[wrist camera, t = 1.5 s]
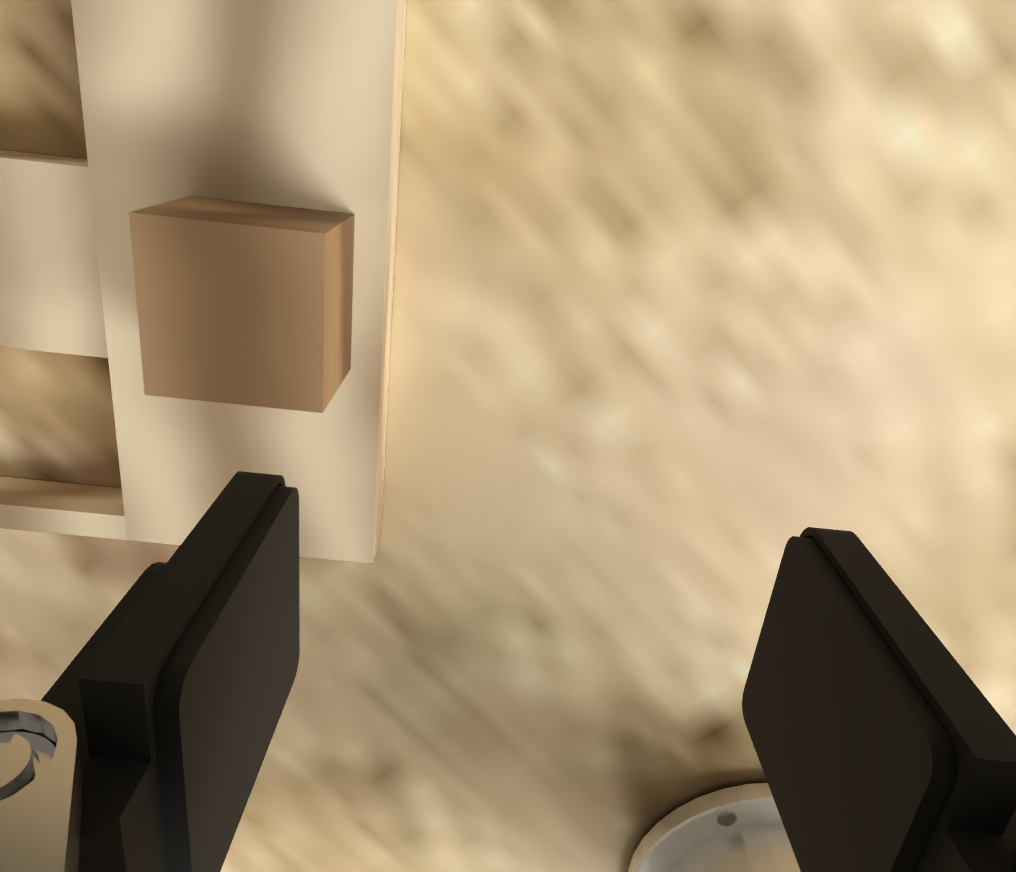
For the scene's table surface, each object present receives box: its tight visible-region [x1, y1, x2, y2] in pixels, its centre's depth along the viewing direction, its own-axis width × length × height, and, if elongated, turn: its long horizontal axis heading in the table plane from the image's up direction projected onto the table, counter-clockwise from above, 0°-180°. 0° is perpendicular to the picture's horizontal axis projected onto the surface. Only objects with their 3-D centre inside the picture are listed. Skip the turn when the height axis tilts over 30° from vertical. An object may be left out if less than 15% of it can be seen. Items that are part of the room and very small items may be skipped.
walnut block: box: [129, 196, 355, 413], centre depth 22 cm, size 5×5×4 cm
